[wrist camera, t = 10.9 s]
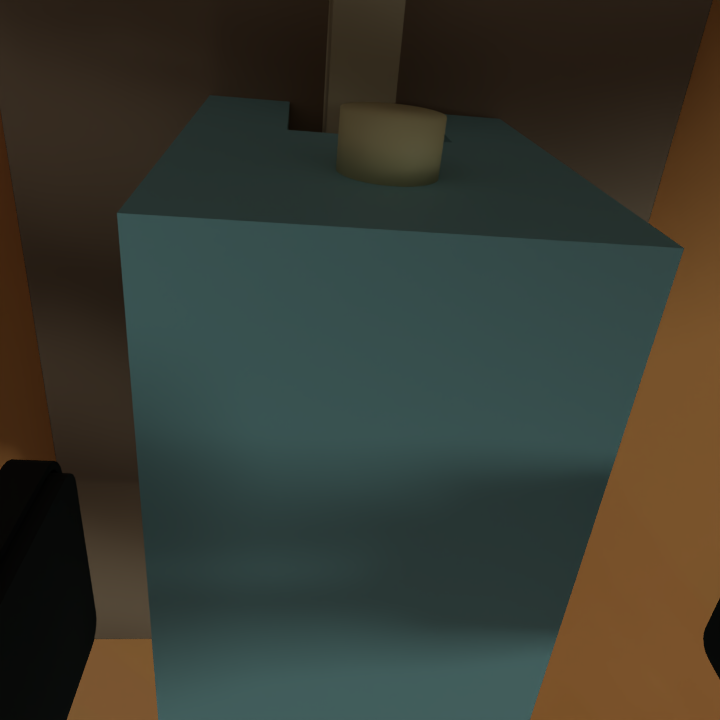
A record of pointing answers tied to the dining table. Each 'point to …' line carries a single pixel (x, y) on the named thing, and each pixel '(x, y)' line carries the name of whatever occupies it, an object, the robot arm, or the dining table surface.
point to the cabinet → (373, 407)
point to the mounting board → (307, 113)
